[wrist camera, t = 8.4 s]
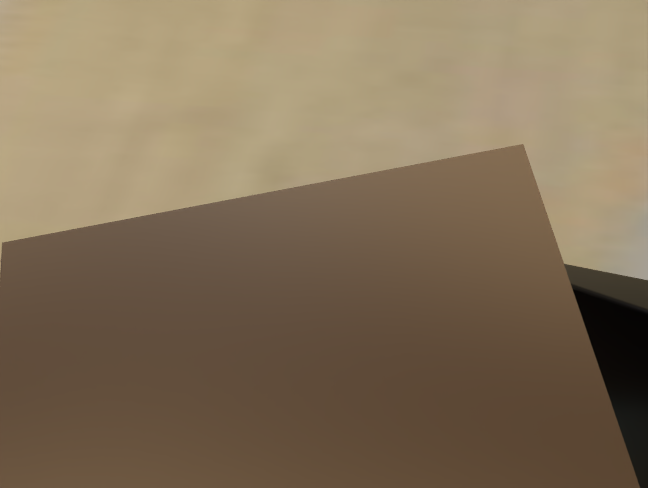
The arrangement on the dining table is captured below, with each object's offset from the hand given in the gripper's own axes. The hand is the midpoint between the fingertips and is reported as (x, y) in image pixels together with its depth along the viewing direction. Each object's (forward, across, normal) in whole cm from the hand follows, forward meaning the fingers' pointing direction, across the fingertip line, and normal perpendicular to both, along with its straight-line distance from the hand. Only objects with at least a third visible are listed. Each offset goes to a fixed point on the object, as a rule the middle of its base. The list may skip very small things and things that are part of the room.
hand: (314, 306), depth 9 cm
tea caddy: (+4, 0, -6) cm, 7 cm away
